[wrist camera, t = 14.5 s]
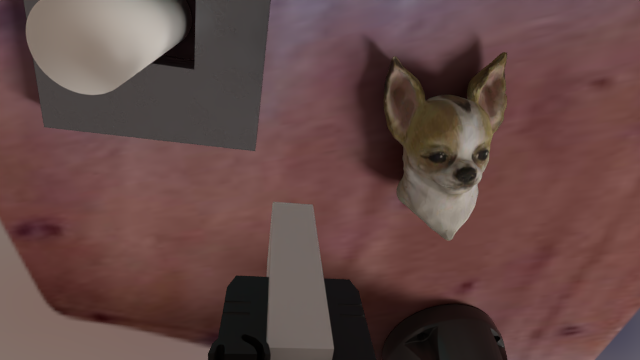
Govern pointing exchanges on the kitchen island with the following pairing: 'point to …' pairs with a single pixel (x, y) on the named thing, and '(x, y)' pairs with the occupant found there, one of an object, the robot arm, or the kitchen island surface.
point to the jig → (180, 86)
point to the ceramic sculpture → (444, 142)
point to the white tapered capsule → (103, 39)
